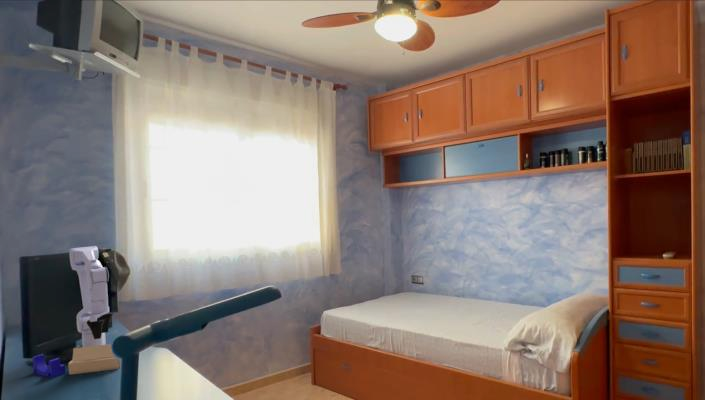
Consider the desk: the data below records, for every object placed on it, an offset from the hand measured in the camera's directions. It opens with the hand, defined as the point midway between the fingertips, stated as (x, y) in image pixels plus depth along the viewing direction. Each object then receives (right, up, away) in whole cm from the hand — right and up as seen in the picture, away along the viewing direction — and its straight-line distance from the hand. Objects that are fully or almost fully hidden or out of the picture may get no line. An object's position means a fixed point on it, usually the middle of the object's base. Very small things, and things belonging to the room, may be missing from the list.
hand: (101, 335), depth 163 cm
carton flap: (+2, -4, -7) cm, 9 cm away
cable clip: (-14, -12, -8) cm, 20 cm away
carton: (+1, -10, -2) cm, 11 cm away
